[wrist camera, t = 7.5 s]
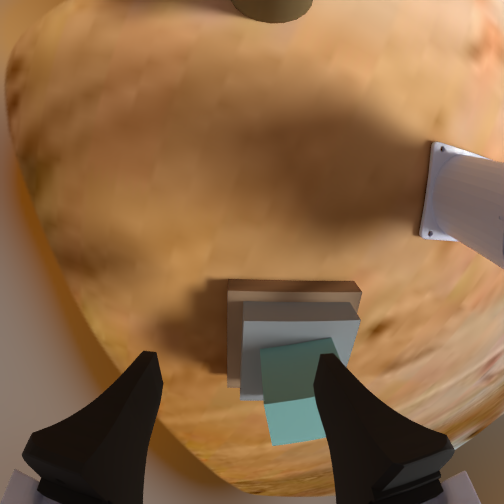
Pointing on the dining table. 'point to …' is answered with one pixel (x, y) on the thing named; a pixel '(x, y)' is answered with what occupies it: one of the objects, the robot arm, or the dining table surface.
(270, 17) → the olive upright rounded piece
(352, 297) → the walnut block
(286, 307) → the grey block
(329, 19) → the dining table surface
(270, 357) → the teal cube
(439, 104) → the dining table surface
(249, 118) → the dining table surface
